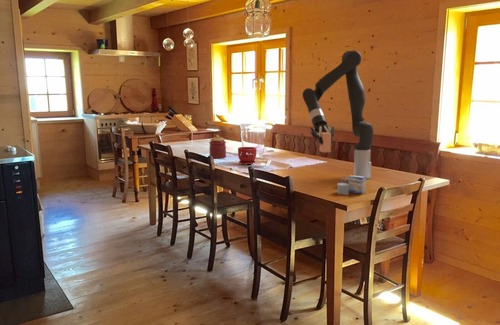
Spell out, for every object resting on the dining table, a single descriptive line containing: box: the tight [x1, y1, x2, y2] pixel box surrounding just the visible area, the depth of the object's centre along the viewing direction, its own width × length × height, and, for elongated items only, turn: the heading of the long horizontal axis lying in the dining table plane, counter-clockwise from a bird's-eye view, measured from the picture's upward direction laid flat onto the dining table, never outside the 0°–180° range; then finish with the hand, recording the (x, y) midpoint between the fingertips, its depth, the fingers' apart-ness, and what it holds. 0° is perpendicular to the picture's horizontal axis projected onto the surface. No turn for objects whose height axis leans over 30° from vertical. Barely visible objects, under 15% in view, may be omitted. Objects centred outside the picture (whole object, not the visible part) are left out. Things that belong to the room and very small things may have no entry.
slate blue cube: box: [336, 182, 350, 196], centre depth 222 cm, size 5×5×5 cm
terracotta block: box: [318, 132, 332, 153], centre depth 228 cm, size 4×4×10 cm
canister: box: [208, 134, 227, 160], centre depth 332 cm, size 13×13×18 cm
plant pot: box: [237, 146, 257, 166], centre depth 304 cm, size 13×13×12 cm
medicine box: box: [348, 174, 367, 195], centre depth 224 cm, size 8×4×9 cm, turn 56°
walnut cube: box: [339, 176, 349, 185], centre depth 235 cm, size 5×5×5 cm
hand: (326, 143), depth 226 cm, fingers closed on terracotta block, 4 cm apart
